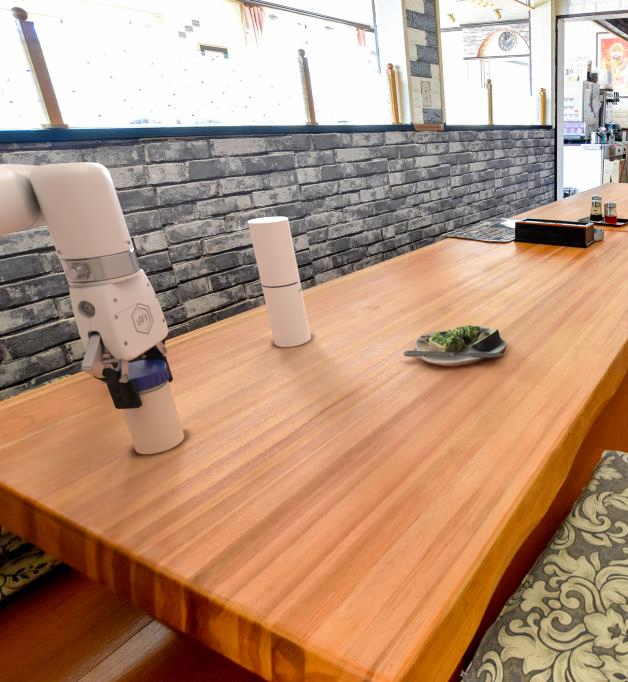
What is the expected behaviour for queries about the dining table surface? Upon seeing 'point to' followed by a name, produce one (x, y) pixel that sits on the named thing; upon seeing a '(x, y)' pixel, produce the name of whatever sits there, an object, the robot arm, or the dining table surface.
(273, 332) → the cylindrical container
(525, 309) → the dining table surface
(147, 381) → the lid
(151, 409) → the jar
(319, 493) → the dining table surface
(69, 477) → the dining table surface
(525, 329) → the dining table surface
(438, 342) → the salad plate
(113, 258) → the robot arm
